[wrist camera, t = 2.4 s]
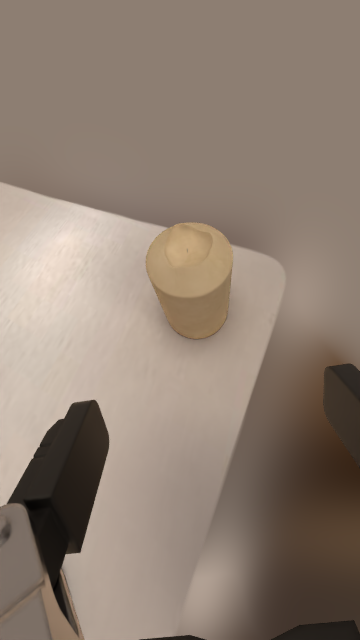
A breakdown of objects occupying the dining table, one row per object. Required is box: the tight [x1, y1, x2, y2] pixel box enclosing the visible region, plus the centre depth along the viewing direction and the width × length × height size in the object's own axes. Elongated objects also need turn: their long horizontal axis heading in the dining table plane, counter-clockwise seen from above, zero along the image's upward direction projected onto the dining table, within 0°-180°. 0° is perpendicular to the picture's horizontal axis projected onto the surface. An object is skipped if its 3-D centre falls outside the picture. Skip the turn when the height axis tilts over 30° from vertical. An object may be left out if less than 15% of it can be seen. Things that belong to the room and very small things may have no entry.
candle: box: [146, 223, 233, 339], centre depth 21 cm, size 6×6×10 cm
